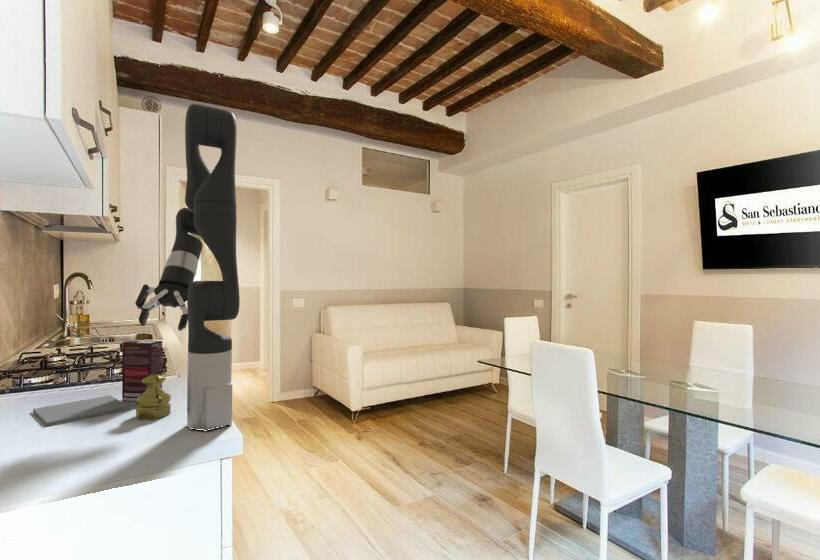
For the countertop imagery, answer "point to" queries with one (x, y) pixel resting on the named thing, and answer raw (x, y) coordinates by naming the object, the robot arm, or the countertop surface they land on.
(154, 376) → the brass knobbed piece
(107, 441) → the countertop surface
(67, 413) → the rubber mat
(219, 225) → the robot arm
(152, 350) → the supplement box
